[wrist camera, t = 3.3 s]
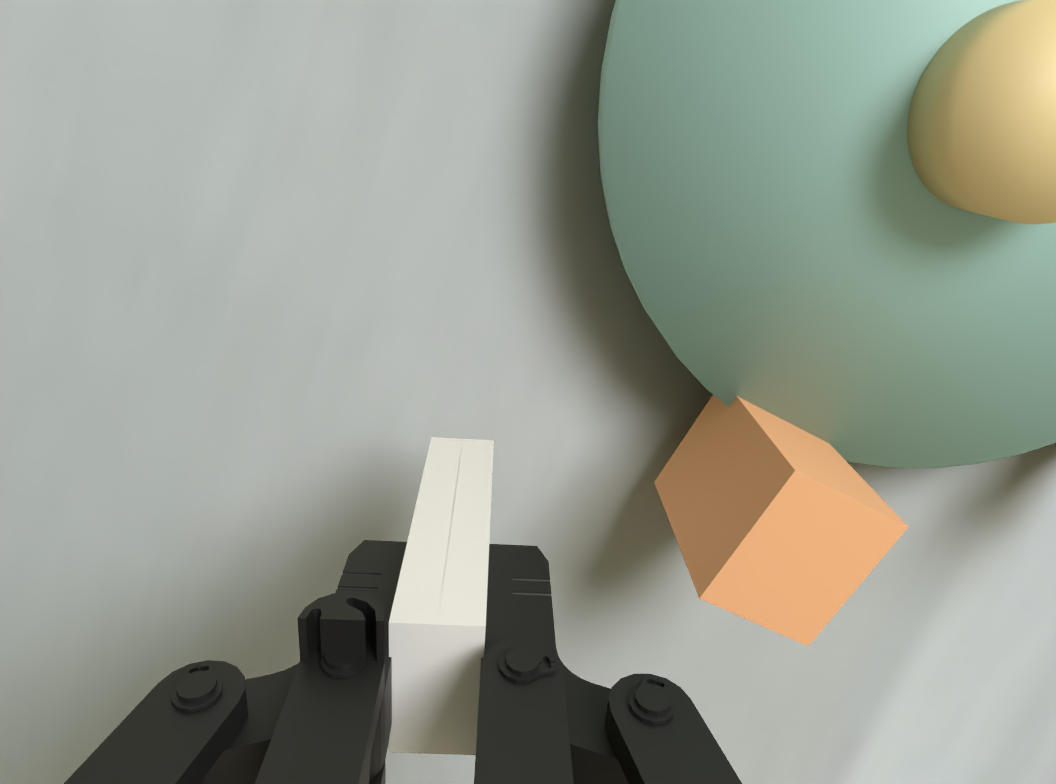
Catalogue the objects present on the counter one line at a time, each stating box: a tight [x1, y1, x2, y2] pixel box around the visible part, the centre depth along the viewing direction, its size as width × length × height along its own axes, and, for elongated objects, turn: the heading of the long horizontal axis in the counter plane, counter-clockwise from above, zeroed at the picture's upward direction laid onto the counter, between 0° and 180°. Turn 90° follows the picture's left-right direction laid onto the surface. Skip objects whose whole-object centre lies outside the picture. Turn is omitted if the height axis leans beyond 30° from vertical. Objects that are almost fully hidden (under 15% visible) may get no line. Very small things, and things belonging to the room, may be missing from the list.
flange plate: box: [598, 0, 1056, 646], centre depth 15 cm, size 18×21×5 cm
